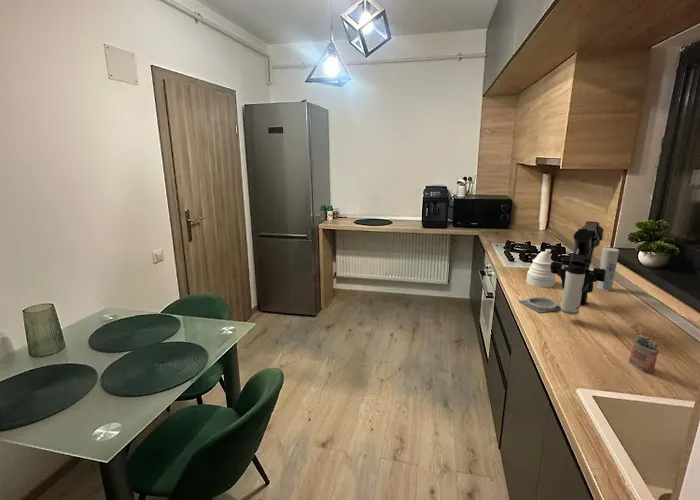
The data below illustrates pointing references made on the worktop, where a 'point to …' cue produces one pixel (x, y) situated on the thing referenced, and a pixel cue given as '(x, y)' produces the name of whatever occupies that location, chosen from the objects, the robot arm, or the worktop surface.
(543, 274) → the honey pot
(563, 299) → the travel mug
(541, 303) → the base mat
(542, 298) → the metal collar
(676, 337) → the worktop surface
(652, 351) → the red and grey container
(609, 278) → the spray can
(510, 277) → the worktop surface
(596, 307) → the worktop surface
